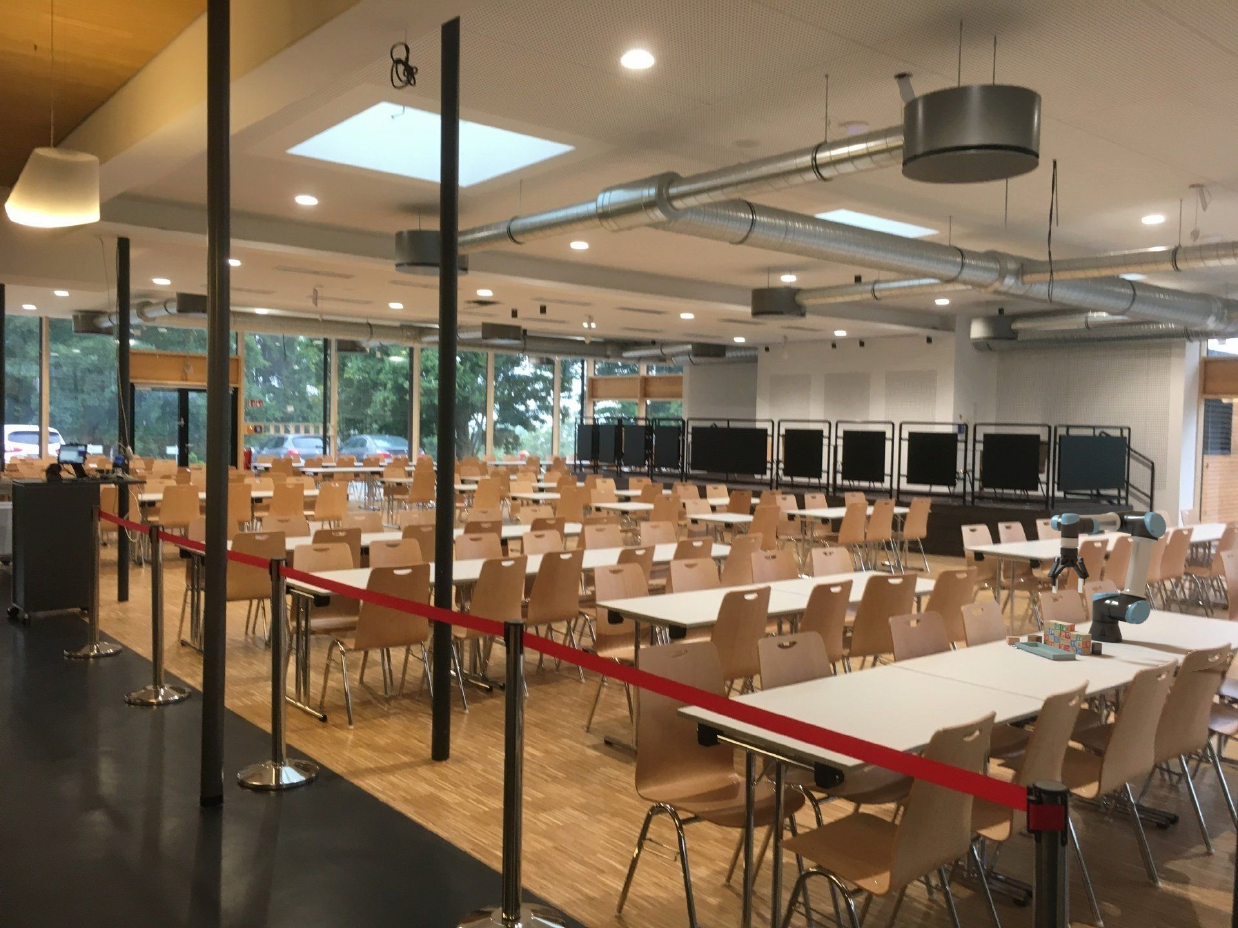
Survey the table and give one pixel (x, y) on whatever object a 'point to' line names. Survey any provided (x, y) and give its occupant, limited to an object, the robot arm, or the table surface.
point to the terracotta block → (1012, 640)
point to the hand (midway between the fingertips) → (1067, 592)
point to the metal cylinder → (1096, 648)
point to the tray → (1045, 651)
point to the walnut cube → (1034, 638)
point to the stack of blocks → (1066, 637)
